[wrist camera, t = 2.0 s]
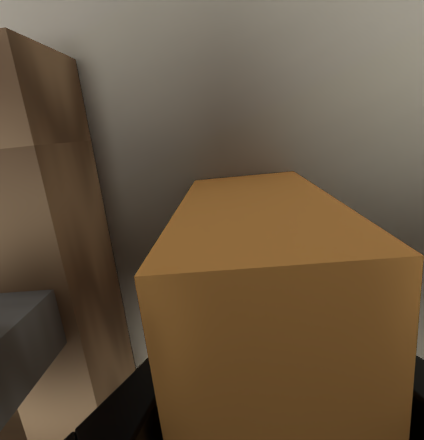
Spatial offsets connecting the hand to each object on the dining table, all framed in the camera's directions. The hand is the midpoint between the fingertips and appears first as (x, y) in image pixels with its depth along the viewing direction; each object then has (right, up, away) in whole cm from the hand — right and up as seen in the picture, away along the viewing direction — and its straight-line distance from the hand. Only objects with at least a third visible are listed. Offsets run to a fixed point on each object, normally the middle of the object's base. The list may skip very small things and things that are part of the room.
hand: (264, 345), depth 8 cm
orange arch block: (0, +2, +6) cm, 6 cm away
